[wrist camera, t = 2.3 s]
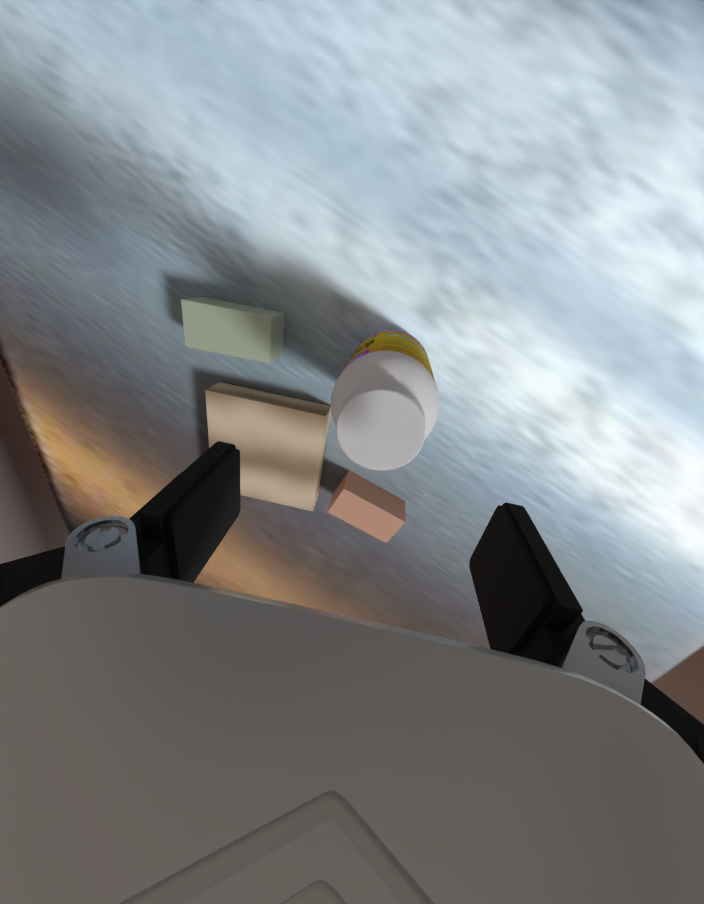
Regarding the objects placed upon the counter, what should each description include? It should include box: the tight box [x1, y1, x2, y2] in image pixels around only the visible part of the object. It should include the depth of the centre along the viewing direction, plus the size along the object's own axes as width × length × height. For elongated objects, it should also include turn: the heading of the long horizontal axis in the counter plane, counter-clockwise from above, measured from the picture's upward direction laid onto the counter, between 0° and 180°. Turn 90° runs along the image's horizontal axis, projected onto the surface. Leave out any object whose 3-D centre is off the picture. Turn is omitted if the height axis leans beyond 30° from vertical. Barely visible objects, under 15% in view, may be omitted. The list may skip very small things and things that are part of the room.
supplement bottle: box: [331, 330, 439, 470], centre depth 22 cm, size 7×7×13 cm
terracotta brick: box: [328, 471, 405, 543], centre depth 33 cm, size 7×4×4 cm, turn 61°
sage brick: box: [181, 297, 285, 364], centre depth 26 cm, size 7×4×4 cm, turn 81°
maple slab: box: [205, 382, 331, 511], centre depth 31 cm, size 11×11×2 cm
